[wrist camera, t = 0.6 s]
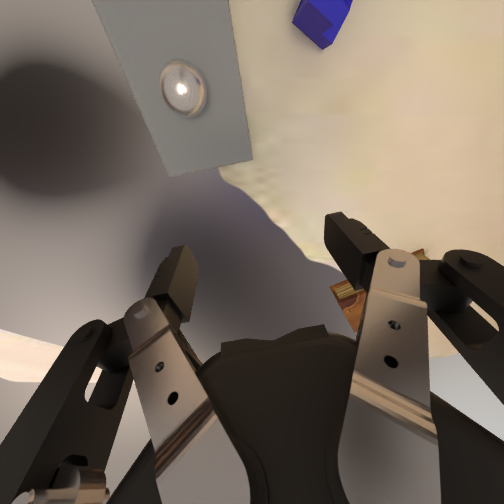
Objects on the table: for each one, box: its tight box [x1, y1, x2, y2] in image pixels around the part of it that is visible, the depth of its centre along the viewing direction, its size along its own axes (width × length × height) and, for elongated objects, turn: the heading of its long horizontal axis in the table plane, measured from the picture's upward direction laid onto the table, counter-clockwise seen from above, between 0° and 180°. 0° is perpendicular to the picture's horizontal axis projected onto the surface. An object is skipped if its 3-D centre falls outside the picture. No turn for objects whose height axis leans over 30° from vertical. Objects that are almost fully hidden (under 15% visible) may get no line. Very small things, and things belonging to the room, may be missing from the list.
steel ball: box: [159, 58, 207, 118], centre depth 21 cm, size 5×5×5 cm
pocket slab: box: [92, 0, 253, 177], centre depth 20 cm, size 28×13×2 cm, turn 10°
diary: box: [330, 249, 430, 332], centre depth 51 cm, size 23×19×6 cm
